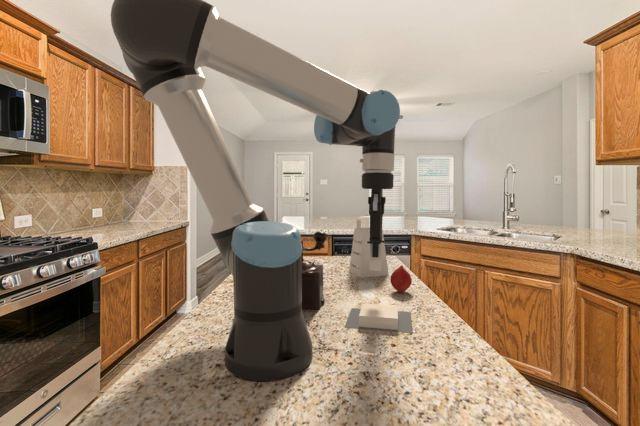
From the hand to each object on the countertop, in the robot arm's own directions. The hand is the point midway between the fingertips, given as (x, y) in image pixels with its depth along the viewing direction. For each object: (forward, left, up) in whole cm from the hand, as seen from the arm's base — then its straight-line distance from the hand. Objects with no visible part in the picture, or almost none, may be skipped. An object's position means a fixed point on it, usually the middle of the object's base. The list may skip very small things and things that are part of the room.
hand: (375, 269), depth 82 cm
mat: (-7, -1, -10) cm, 12 cm away
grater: (+37, +5, -10) cm, 39 cm away
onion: (+15, -6, -10) cm, 19 cm away
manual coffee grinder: (+3, +19, -10) cm, 21 cm away
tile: (-4, -1, -8) cm, 9 cm away
